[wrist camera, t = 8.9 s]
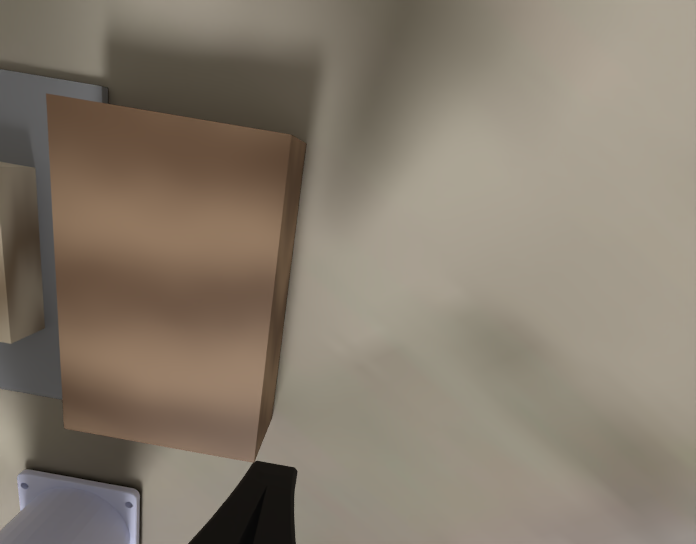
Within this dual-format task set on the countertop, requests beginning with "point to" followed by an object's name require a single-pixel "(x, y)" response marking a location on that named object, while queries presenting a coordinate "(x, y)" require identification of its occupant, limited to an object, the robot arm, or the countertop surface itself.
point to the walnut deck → (170, 273)
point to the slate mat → (33, 151)
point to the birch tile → (19, 254)
